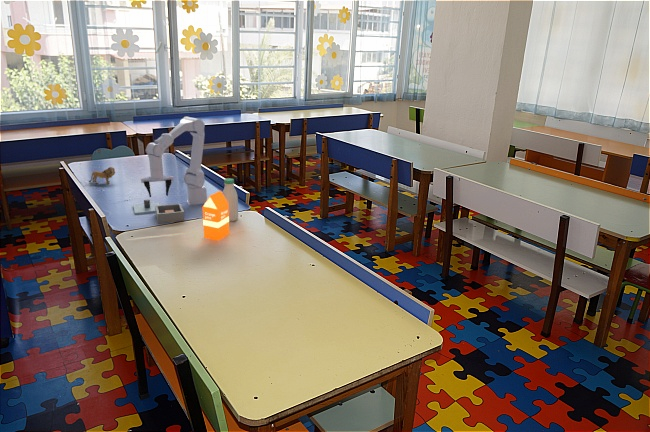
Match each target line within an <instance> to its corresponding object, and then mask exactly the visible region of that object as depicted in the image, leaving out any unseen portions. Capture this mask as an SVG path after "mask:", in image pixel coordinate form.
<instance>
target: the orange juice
mask: <svg viewBox="0 0 650 432" xmlns="http://www.w3.org/2000/svg"><path fill="white" fill-rule="evenodd" d="M222 192H223V191H222V190H221V189H220V190H219V191H217V192H214V193H212V194H210V195H209V197H207V201H206V203H204V204H203V206H202V224H203V237H204V238H205V239H208V240H213V241H218V242H219V241H221V240H222V239H224V238H225V237H228V235H230V222H229V207H228V202H227V200H226V199H225V197H224V195H223V194H222Z"/></svg>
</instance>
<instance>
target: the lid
mask: <svg viewBox="0 0 650 432" xmlns="http://www.w3.org/2000/svg"><path fill="white" fill-rule="evenodd" d="M158 205H161V204H160V201H155V202H154V201H153V202H151V200H150V199H144V200H143V203H134V204H132V207H133V211H134V215H145V214H154V213H155V206H158ZM155 214H156V213H155Z"/></svg>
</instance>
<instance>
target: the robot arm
mask: <svg viewBox="0 0 650 432" xmlns="http://www.w3.org/2000/svg"><path fill="white" fill-rule="evenodd" d="M205 125H206V124H205V122H204V121H203V119H201V118H195V117H190V116H184V117H183V118H181V119H180V121H179V123H178V124H177V125H176V126H175V127H173V129H172V130H171V131H169V133H167V132H166V133H162V134H161V135H160V137H158V138H157V139H154V141H153V142H149V143H148V144H147V145H146V148H145V153H146V154H147V157H148V161H149V171H150V176H147V177H140V182H141V184H144V185H143V186H144V187H145V189H146V191H147V193H148V196H149V198H151V197H152V193H151V184H150V183H155V182H165V195H166V196H167V197H168V196H169V190H170V187H171V186H172V182H174V176H173V175H164V166H163V155H164V154H165V151H166V149H167V148H169V147H170V146H171V145H173V144H174V140H175V139H176V138H177V137H179V136H181V135H182V134H183V133H185V132H189V133H190V135H191V136H192V145H191V154H190V161H189V167H188V168H187V169H186V170H185V173H184V175H183V183H184V184H185V185H186V187H187V200H186V202H187V204H188V205H189V206H191V205H192V206H193V205H204V204H205V203H206V201H207V200H208V193H207V187H206V185H204V184H205V181H206V180H205V173H204V171H203V170H202V163H203V162H202V161H203V153H204V152H203V150H204V146H205V134H206V133H205Z"/></svg>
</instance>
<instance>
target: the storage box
mask: <svg viewBox="0 0 650 432" xmlns="http://www.w3.org/2000/svg"><path fill="white" fill-rule="evenodd" d="M165 210H174V212H168V213H165ZM155 217H156V221H157V223H158V224H165V223H173V222H183V221H185V220H186V219H185V211H184V209H183V205H182V204H181V203H171V204H160V205H158V206H155Z"/></svg>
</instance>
